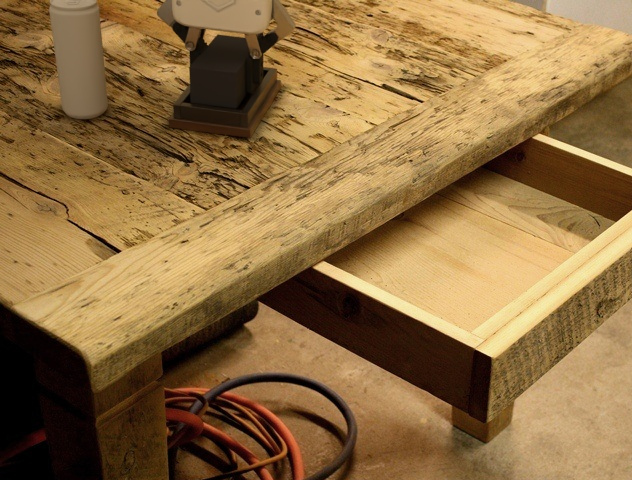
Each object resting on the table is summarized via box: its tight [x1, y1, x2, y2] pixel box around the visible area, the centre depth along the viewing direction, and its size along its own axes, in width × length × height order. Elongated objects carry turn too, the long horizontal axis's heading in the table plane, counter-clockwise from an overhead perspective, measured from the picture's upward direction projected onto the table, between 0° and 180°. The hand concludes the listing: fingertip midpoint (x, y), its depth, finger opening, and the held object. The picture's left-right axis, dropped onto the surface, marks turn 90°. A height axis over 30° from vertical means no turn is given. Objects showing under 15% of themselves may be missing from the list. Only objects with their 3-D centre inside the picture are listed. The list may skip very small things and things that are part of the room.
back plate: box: [168, 66, 282, 139], centre depth 101 cm, size 14×9×2 cm, turn 170°
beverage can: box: [48, 0, 109, 120], centre depth 96 cm, size 5×5×12 cm
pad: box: [188, 34, 249, 109], centre depth 100 cm, size 10×5×4 cm, turn 170°
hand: (226, 84), depth 101 cm, fingers closed on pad, 5 cm apart
